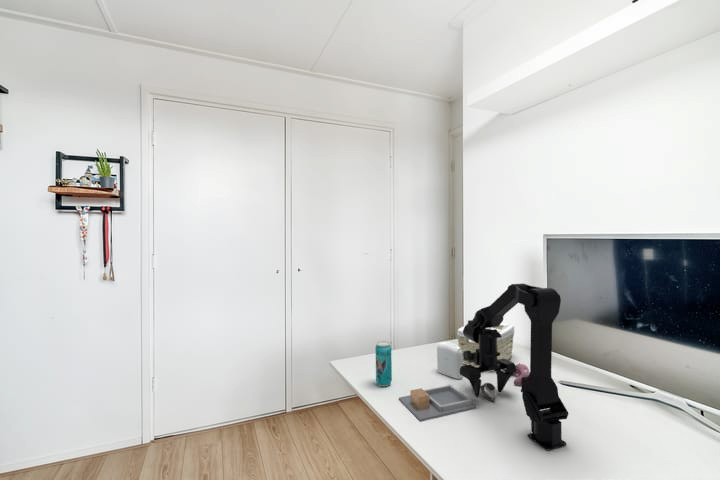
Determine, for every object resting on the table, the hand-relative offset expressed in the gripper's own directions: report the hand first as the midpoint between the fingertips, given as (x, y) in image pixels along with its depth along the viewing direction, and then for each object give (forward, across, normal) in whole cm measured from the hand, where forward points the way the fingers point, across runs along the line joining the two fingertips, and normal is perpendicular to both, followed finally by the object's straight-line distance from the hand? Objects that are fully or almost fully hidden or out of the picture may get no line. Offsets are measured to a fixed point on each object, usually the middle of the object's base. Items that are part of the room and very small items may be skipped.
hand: (488, 394), depth 110 cm
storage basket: (+1, -22, -26) cm, 34 cm away
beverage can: (+1, +28, -22) cm, 36 cm away
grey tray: (+1, +18, -3) cm, 18 cm away
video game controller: (+1, -20, -6) cm, 21 cm away
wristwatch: (+1, 0, 0) cm, 1 cm away
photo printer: (+1, +1, -20) cm, 20 cm away
